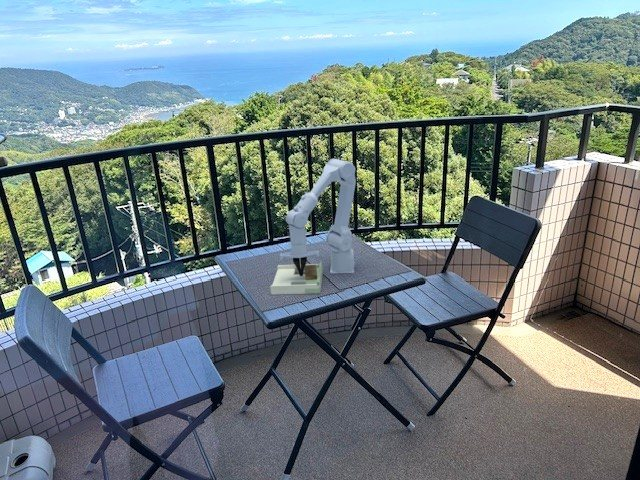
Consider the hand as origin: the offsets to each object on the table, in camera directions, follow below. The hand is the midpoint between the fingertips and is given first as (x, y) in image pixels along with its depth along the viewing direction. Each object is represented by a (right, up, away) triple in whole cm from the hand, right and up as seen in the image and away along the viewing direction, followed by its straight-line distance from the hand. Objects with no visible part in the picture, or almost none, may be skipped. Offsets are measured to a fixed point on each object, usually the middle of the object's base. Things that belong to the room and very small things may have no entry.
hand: (301, 275), depth 167 cm
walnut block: (+4, -1, +1) cm, 4 cm away
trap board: (-1, -3, +1) cm, 3 cm away
